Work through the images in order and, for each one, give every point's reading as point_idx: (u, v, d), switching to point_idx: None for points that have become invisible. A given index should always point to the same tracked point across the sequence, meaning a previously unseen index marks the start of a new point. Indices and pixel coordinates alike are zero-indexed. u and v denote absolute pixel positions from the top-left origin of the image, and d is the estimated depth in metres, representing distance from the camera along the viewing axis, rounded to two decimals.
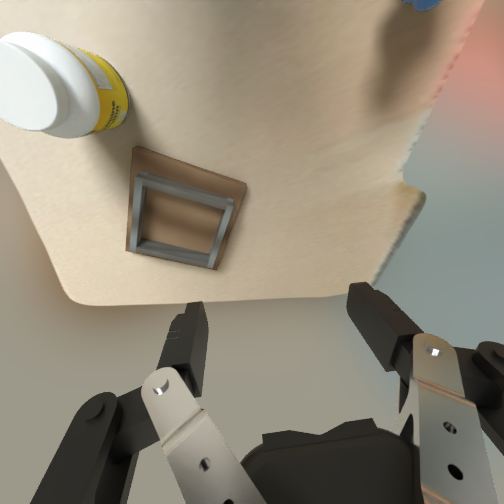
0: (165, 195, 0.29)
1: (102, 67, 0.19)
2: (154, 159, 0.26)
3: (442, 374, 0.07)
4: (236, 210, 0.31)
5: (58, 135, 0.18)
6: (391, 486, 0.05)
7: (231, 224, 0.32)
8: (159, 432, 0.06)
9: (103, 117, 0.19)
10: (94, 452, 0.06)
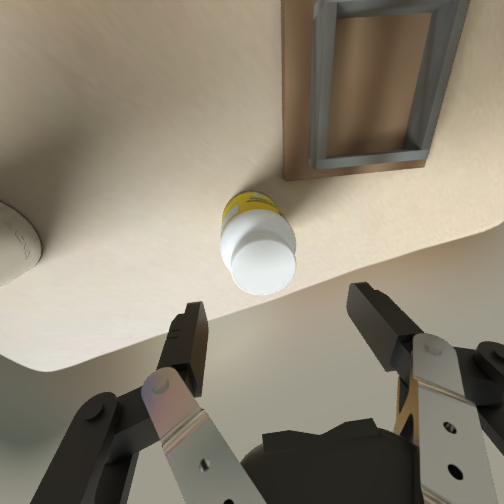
0: (332, 130, 0.21)
1: (225, 214, 0.21)
2: (290, 155, 0.21)
3: (443, 374, 0.07)
4: None
5: (293, 240, 0.18)
6: (391, 486, 0.05)
7: None
8: (158, 432, 0.06)
9: (263, 206, 0.18)
10: (94, 452, 0.06)
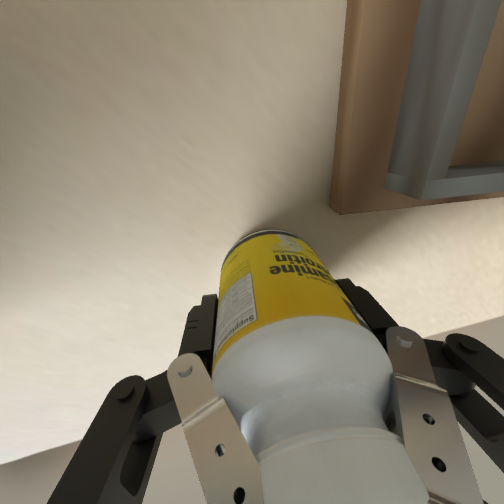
0: None
1: (224, 286, 0.11)
2: (354, 166, 0.11)
3: (415, 365, 0.07)
4: None
5: None
6: None
7: None
8: (180, 412, 0.06)
9: (314, 296, 0.08)
10: (122, 431, 0.06)
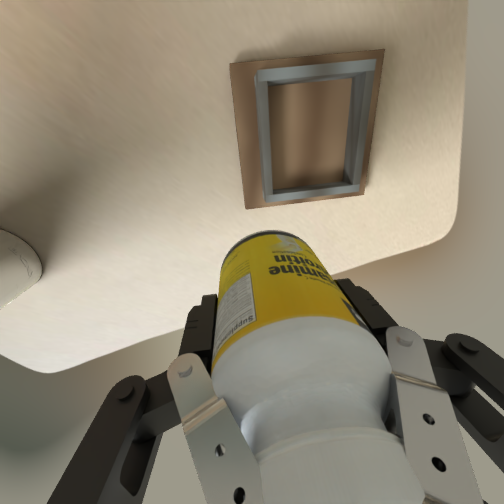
0: (280, 168, 0.25)
1: (224, 287, 0.11)
2: (247, 188, 0.26)
3: (415, 365, 0.07)
4: (268, 62, 0.21)
5: None
6: None
7: (292, 60, 0.21)
8: (180, 412, 0.06)
9: (313, 297, 0.08)
10: (122, 431, 0.06)
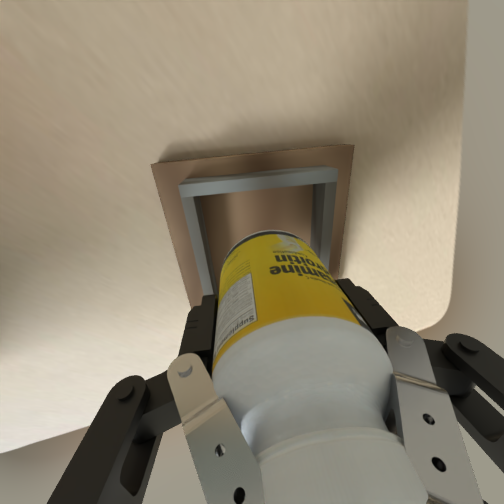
0: None
1: (224, 287, 0.11)
2: (190, 291, 0.21)
3: (415, 365, 0.07)
4: (201, 163, 0.16)
5: None
6: None
7: (233, 159, 0.16)
8: (180, 412, 0.06)
9: (314, 297, 0.08)
10: (122, 431, 0.06)
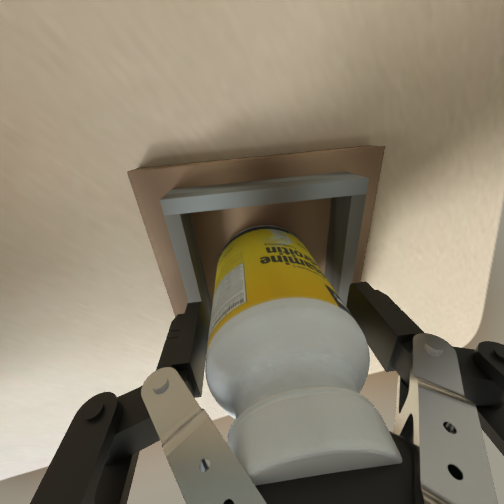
0: None
1: (220, 276, 0.11)
2: None
3: (442, 374, 0.07)
4: (192, 169, 0.13)
5: (368, 361, 0.08)
6: (391, 486, 0.05)
7: (232, 165, 0.13)
8: (159, 432, 0.06)
9: (298, 282, 0.08)
10: (94, 452, 0.06)
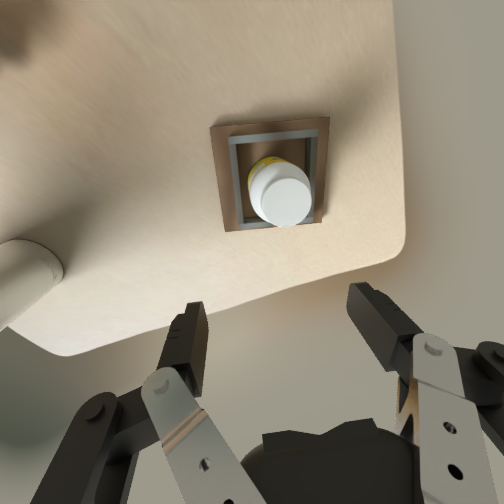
0: None
1: (252, 172, 0.26)
2: (225, 216, 0.32)
3: (443, 374, 0.07)
4: (239, 126, 0.27)
5: (309, 187, 0.22)
6: (391, 486, 0.05)
7: (257, 125, 0.27)
8: (158, 432, 0.06)
9: (284, 161, 0.23)
10: (94, 452, 0.06)
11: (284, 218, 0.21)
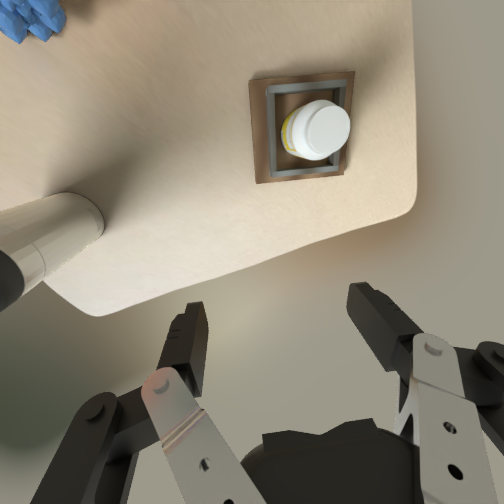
0: (282, 153, 0.35)
1: (289, 118, 0.29)
2: (258, 168, 0.36)
3: (443, 374, 0.07)
4: (275, 80, 0.30)
5: None
6: (391, 486, 0.05)
7: (291, 78, 0.30)
8: (159, 432, 0.06)
9: None
10: (94, 452, 0.06)
11: (326, 145, 0.24)
